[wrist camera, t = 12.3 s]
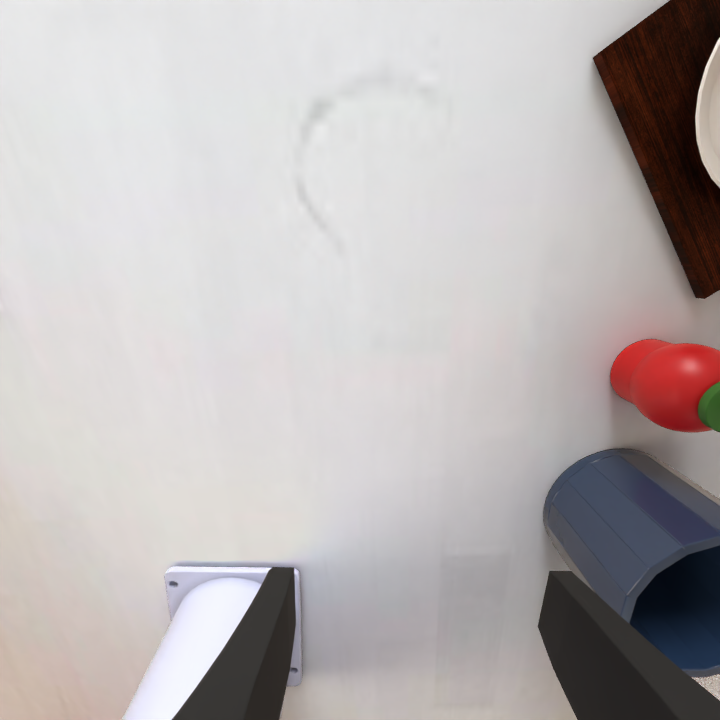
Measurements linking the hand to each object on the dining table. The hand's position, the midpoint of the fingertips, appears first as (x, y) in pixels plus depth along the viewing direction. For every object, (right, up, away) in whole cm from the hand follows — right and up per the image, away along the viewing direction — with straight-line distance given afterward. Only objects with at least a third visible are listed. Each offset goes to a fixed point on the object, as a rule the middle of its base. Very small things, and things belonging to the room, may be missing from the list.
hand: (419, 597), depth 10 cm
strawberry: (+13, +6, +9) cm, 17 cm away
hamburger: (+16, +18, +5) cm, 25 cm away
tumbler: (+13, -2, +11) cm, 17 cm away
